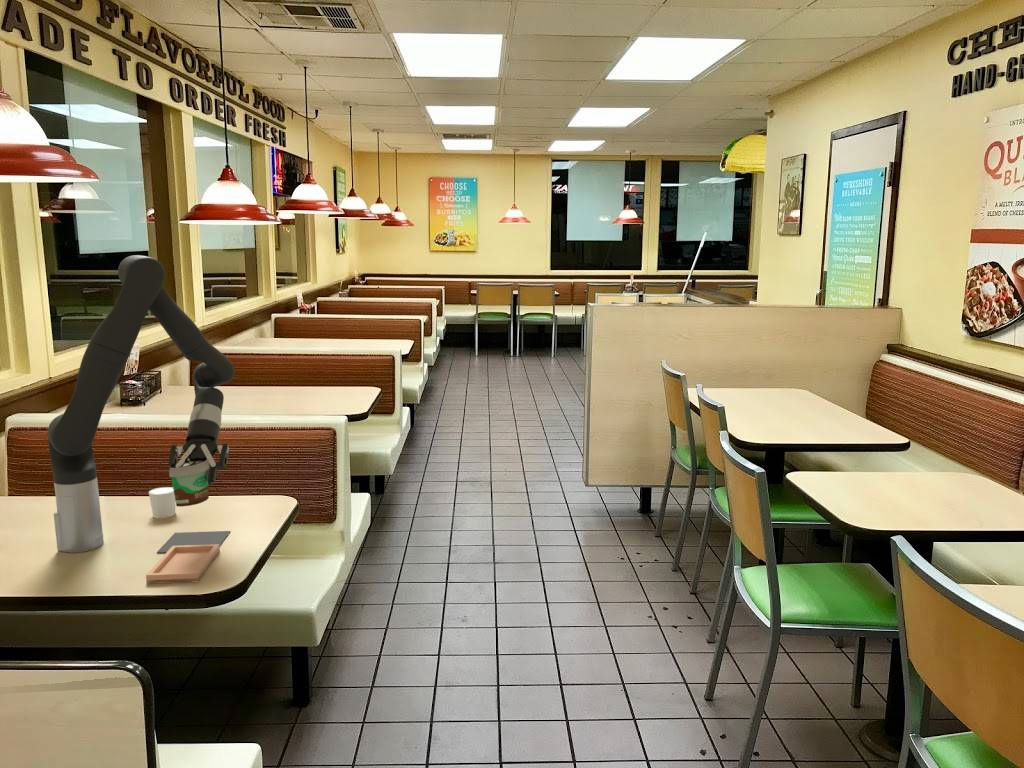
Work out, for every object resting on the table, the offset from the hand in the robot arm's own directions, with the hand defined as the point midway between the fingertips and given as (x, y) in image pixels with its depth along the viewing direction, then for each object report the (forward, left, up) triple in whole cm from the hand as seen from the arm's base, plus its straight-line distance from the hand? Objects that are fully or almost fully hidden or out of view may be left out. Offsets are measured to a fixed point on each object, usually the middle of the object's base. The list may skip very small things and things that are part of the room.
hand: (194, 483), depth 188 cm
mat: (-2, +3, -16) cm, 17 cm away
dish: (+1, -13, -16) cm, 21 cm away
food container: (0, +2, -5) cm, 5 cm away
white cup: (-17, +25, -17) cm, 34 cm away
